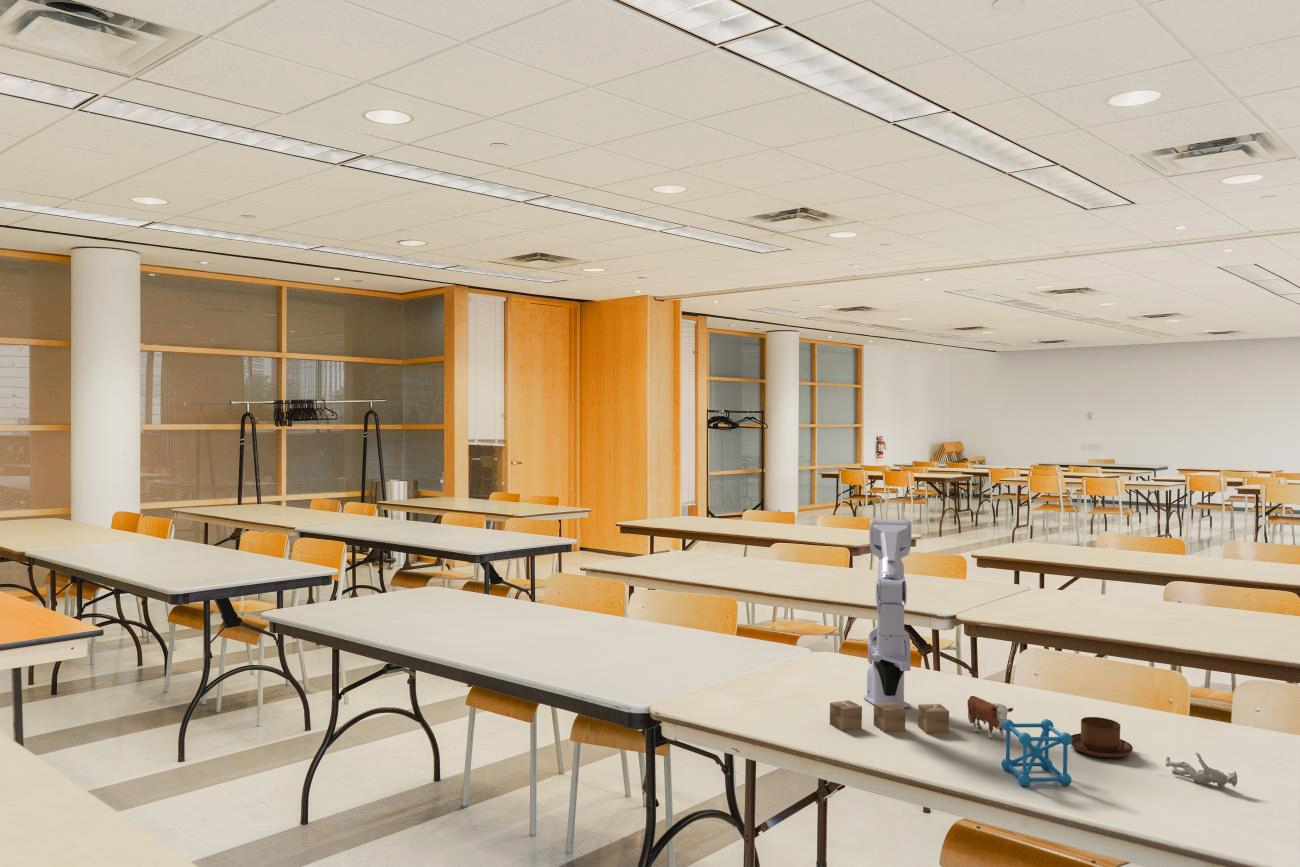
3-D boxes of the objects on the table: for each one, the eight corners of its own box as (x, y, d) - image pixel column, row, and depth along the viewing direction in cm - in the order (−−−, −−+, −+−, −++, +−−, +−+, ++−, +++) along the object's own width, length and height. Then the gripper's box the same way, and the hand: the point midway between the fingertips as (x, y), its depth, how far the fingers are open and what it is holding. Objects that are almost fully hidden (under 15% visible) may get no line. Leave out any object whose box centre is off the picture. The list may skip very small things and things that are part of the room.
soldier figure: (1182, 774, 186) (1248, 772, 177) (1180, 796, 183) (1246, 796, 174) (1161, 750, 184) (1226, 748, 175) (1159, 773, 181) (1225, 771, 172)
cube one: (829, 724, 211) (829, 702, 211) (848, 722, 213) (848, 699, 213) (842, 731, 207) (842, 708, 207) (861, 729, 209) (862, 706, 209)
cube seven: (917, 726, 211) (918, 704, 211) (939, 726, 211) (940, 703, 211) (926, 734, 206) (926, 711, 206) (948, 733, 206) (949, 710, 206)
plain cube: (873, 725, 211) (873, 703, 211) (894, 724, 212) (894, 702, 212) (884, 733, 206) (884, 710, 206) (905, 731, 207) (905, 708, 207)
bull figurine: (1000, 747, 198) (1000, 708, 198) (962, 726, 211) (963, 690, 211) (1018, 745, 199) (1018, 706, 199) (979, 725, 212) (980, 688, 212)
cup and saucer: (1077, 738, 204) (1078, 709, 204) (1138, 751, 197) (1139, 721, 196) (1060, 753, 195) (1061, 723, 195) (1124, 767, 187) (1124, 736, 187)
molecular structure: (1049, 768, 186) (1050, 717, 186) (1073, 788, 176) (1074, 734, 176) (999, 768, 186) (1000, 717, 186) (1020, 788, 176) (1021, 735, 176)
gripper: (859, 627, 215) (858, 686, 215) (889, 642, 201) (888, 706, 201) (887, 625, 217) (886, 684, 217) (919, 640, 202) (918, 704, 203)
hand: (889, 695), depth 209 cm, fingers closed
